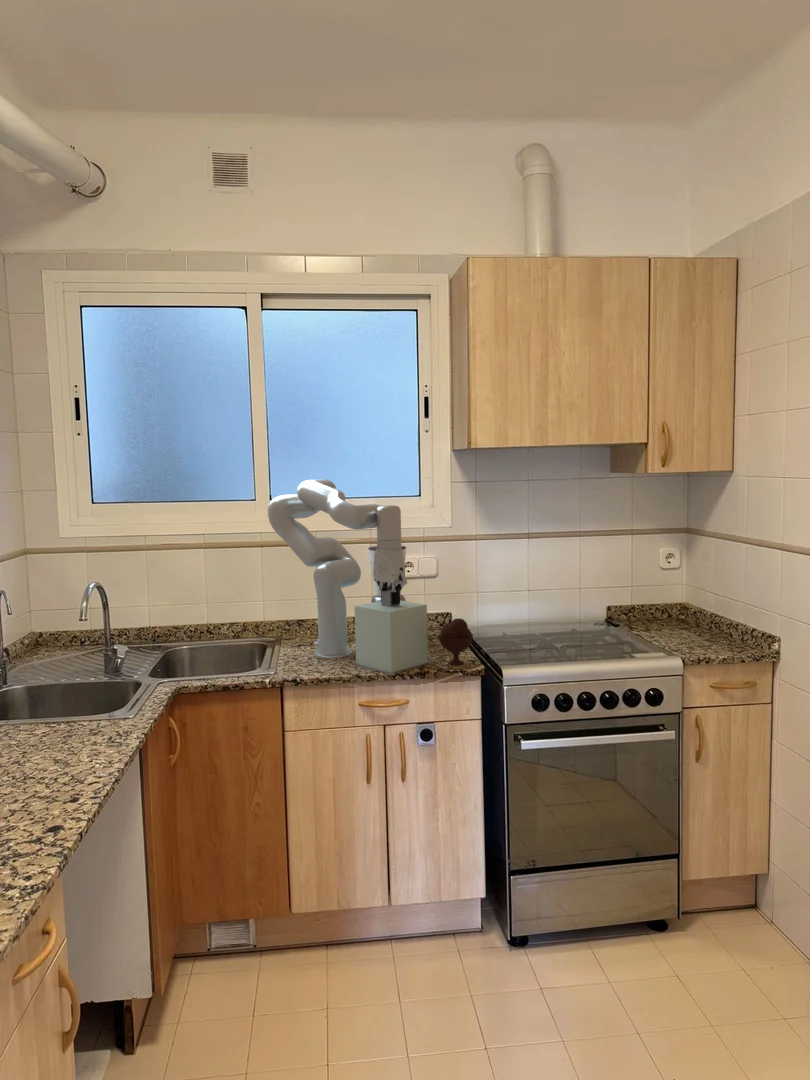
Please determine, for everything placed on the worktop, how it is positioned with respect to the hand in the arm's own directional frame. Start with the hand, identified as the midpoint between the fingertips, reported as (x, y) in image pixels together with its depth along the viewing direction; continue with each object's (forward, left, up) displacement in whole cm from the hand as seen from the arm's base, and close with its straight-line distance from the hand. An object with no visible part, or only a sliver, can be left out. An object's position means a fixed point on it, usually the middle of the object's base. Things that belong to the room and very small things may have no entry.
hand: (390, 602), depth 230 cm
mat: (0, 0, -20) cm, 20 cm away
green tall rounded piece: (-23, +21, -20) cm, 37 cm away
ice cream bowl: (+15, +13, -20) cm, 29 cm away
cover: (0, 0, -19) cm, 19 cm away
